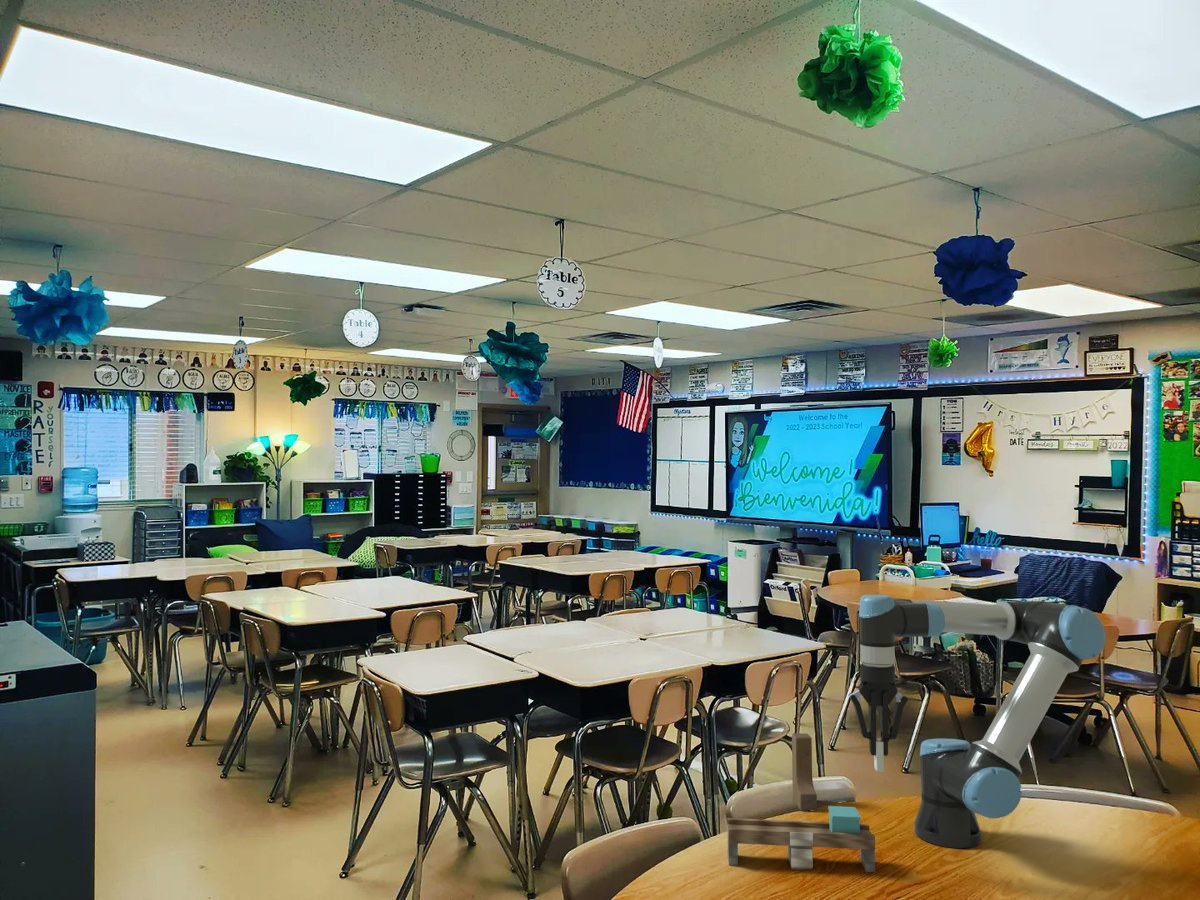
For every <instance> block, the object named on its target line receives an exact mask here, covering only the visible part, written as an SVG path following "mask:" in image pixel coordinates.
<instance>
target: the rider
mask: <svg viewBox="0 0 1200 900" xmlns="http://www.w3.org/2000/svg"><path fill="white" fill-rule="evenodd" d="M827 808H828V815H829V818H828V819H829V820H828V821H829V829H830V831H831V832H839V833H860V824H861V822H860V821H861V820H862V819H861V818H862V817H861V815H860V814H859V812H858V810H857V808H856V807H855V806H834V805H828V806H827Z"/></svg>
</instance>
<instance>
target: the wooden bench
mask: <svg viewBox="0 0 1200 900" xmlns="http://www.w3.org/2000/svg"><path fill="white" fill-rule="evenodd" d="M726 823H727V859H728V865H729V866H736V867H737V866H739V856H738V855H739V850H738V849H739V844H740V845H741V844H743V845H760V846H761V845H764V846H785V847H787V856H788V857H787V858H788V861H789V864H790V869H791V870H804V871H805V870H806V871H812V869H814V867H813V865H814V863H813V861H814V860H813V859H814V858H813V857H814V855H813V848H827V849H829V848H830V849H831V848H833V849H848V850H849V849H850V850H851V849H853V850H860V851H859V852H860V862H861V864H862V867H863V869H864V871H865V872H867V873H868V872H869V873H876V835H875V833H872V832H871V830H870V824H869V823H860V833H839V832H831V831H830V829H829V822H827V821H809V820H794V819H793V820H789V819H787V820H784V819H783V820H782V819H760V818H759V819H756V818H739V817H737V818H736V817H735V818H734V817H732V818H731V817H727V822H726Z"/></svg>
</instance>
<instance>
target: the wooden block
mask: <svg viewBox="0 0 1200 900" xmlns="http://www.w3.org/2000/svg"><path fill="white" fill-rule="evenodd" d="M812 740H813V738H812V737H811V735H809V734H808V733H807V732H806V733H805V732H804V733H803V732H802V733H795V732H794V733H792V734H791V752H792V753H791V755H792V756H791V760H792V761H791V764H792V765H791V766H792V767H791V768H792V769H791V771H792V774H791V775H792V778H791V779H792V800H793V802H794V803H795V805H796V806H797V807H798V809H799V810H800V812H809V811H808V810H815V811H814V812H817V811H818V805H817V804H818V800H817V799H818V798H817V797H818V795H817V793H816V790H815V787H814V782H813V781H814V780H813V749H812V748H813V746H812V743H813V742H812Z"/></svg>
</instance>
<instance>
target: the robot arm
mask: <svg viewBox="0 0 1200 900" xmlns="http://www.w3.org/2000/svg"><path fill="white" fill-rule="evenodd" d="M858 611H859V613H858V618H859V641H860V642H859V653H860V655H859V658H860V659H859V660H860V661H861V663H860V665H859V666H860V668H859V671H860V672H859V674H860V675H859V677H860V683H859V685H858V687H857V690H856V691H854V692H849V693H848V698H849V699H850V702H852V705H853V708H854V713H855V716H856V720H857V724H858V727H859V730H860V734H861V736H862V737H863V738H864V739H867V740H869V744H868V745H869V753H870V755H871V756H873V758H874V759H873V762H874V766H873V767H874V770H875V771H876V772H879V773H881V772H882V773H885V768H884V762H885V761H884V760H885V759H884V757H887V756H888V755H889V742H890V741H891V740H896V739H897V737H898V731H899V728H900V723H901V720H902V716H903V715H902V714H903V710H904V707H905V705H906V704H907V702H908V701H909V698H908V697H907V696H906V695H905V694H903V693H901V692H899V689H898V688H897V685H896V667H895V665H894V664H895V663H896V658H895V657H896V655H895V653H896V652H895V641H896V640H895V638H901V637H902V638H905V637H906V638H907V637H909V638H910V637H913V638H915V637H917V638H918V637H922V638H923V637H925V638H929V637H938V636H940V635H942V633H953V634H955V633H956V634H969V635H986V636H995V637H996V638H997V639H999V640H1003V641H1010V642H1016V643H1017V642H1018V643H1020V644H1024V645H1027V646H1028V647H1027V648H1028V649H1029V651H1030V655H1029V656H1028V658H1027V659H1026V661H1025V663H1024V665H1023V667H1022V668H1021V671H1020V673H1019V674H1018V676H1017V678H1016V679H1015V681H1014V683H1013V684H1012V686H1011V688H1010V690H1009V692H1008V693H1007V695H1006V696H1005V699H1004V700H1003V702H1002V704H1001V705H1000V708H999V710H998V711H997V713H996V715H995V717H994V718H993V719H992V722H991V724H990V726H989V727H988V729H987V731H986V732H985V734H984V736H983V738H982V739H981V740H976V741H972V742H971V743H970V741H967V740H964V739H957V738H931V739H925V740H924V741H922V742H921V743H920V750H919V751H920V752H919V759H920V790H921V791H920V792H921V800H920V804H919V807H918V811H917V814H916V817H915V819H914V834H915V836H916V837H918V838H919V839H921V840H923V841H925V842H927V843H930V844H932V845H937V846H940V847H945V848H946V847H947V848H953V849H954V848H956V849H966V848H973V847H977V846H979V845H980V844H981V843H982V831H981V830H982V829H981V828H980V825H979V822H978V821H979V820H978V818H977V816H976V814H977V815H980V816H982V817H985V818H989V819H1000V818H1005V817H1006V816H1009V815H1010V814H1011V813H1013V812H1014V810H1015V809H1016V808H1018V805H1019V804H1020V801H1021V799H1022V790H1021V788H1022V785H1021V782H1020V780H1019V779H1020V776H1021V775H1022V773H1023V771H1022V768H1021V765H1020V760H1021V759H1022V757H1023V755H1024V753H1025V751H1026V750H1027V748H1028V746H1029V744H1030V743H1031V741H1032V739H1033V737H1034V735H1035V734H1036V732H1037V730H1038V728H1039V726H1040V724H1041V723H1042V721H1043V719H1044V717H1045V715H1046V713H1047V712H1048V710H1049V708H1050V706H1051V704H1052V702H1053V700H1054V699H1055V697H1056V695H1057V693H1058V692H1059V690H1060V688H1061V686H1062V684H1063V682H1065V679H1066V677H1067V676H1068V674H1071V673H1074V672H1078V671H1079V669H1080V667H1081V665H1082V664H1083V662H1084V660H1091V659H1093V658H1097V657H1098V656H1099V655H1100V654H1101V653H1102V651H1103V650H1104V649H1105V645H1106V638H1107V637H1106V631H1105V630H1104V624H1103V622H1102V620H1101V619H1100V617H1099V616H1098V615H1097V614H1096V613H1095V612H1093V611H1092V610H1091V609H1088V608H1086V607H1080V606H1078V605H1075V604H1071V605H1069V604H1063V603H1056V602H1050V601H1045V600H1026V601H1024V600H1023V601H1005V600H1004V601H1003V600H1001V601H997V602H996V603H995V604H987V603H975V602H974V603H972V602H971V603H970V602H959V601H945V600H944V601H943V600H942V601H941V600H929V599H928V600H927V599H926V600H925V599H914V598H913V599H912V598H908V599H906V598H895V597H893V596H891V595H885V594H864V595H862V596H861V597H860V600H859V610H858ZM861 696H862V697H861ZM861 698H863V699H864V700H865V701H866V703H867V707H868V729H867V724H866V720H865V716H864V713H863V709H862V705H861V703H860V702H861V700H862V699H861ZM894 699H895V703H894V708H893V712H892V716H891V720H890V721H891V722H890V724H889V705H890V704H891V702H892V701H893V700H894ZM878 706H879V716H880V717H879V718H880V722H879V723H880V726H879V727H880V730H879V732H880V738H877V737H878V736H877V707H878Z"/></svg>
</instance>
